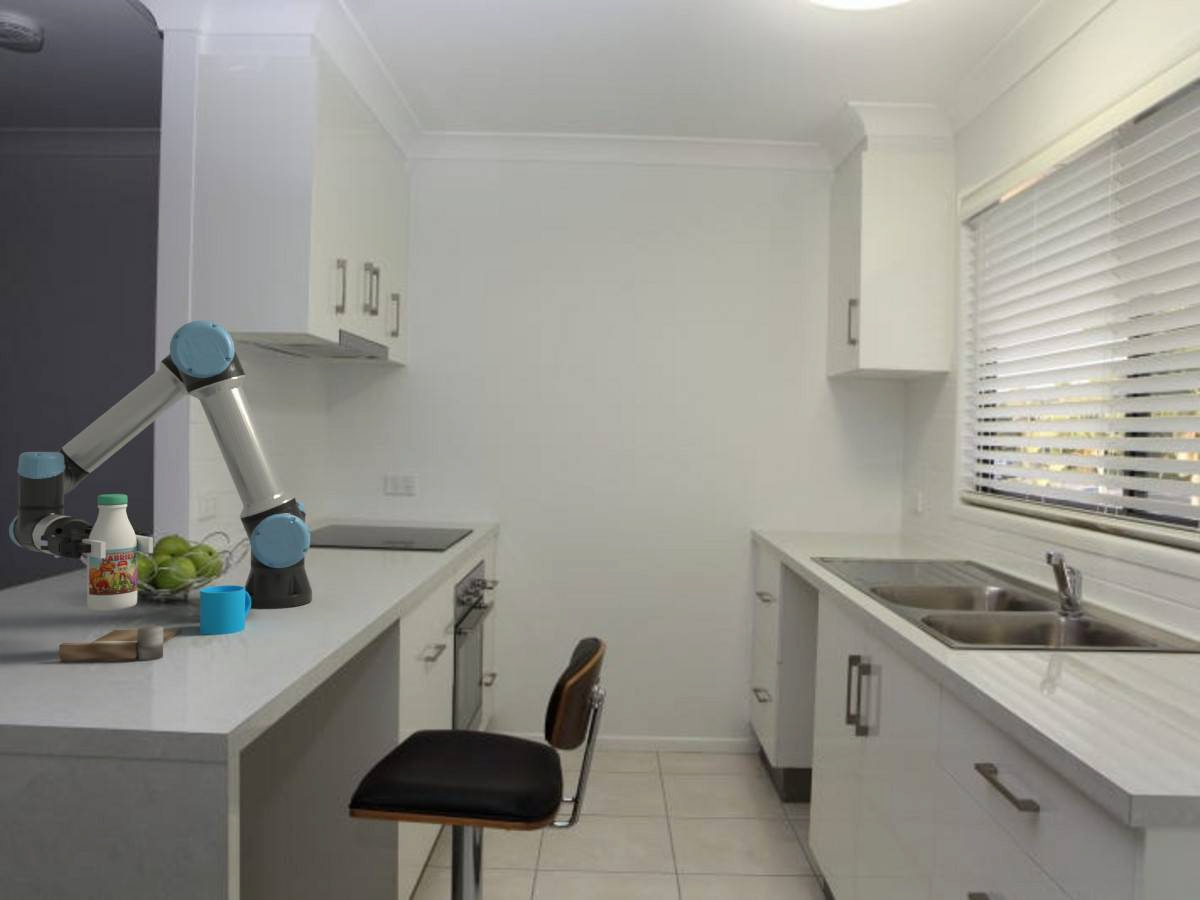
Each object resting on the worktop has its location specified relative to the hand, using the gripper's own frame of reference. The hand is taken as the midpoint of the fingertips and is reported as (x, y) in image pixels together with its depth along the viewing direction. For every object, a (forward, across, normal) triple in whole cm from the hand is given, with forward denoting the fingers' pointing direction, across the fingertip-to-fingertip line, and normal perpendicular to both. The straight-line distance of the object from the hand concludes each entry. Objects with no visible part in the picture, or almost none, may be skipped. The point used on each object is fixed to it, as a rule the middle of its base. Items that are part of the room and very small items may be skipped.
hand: (127, 547), depth 146 cm
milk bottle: (-5, 0, -11) cm, 12 cm away
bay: (-5, -4, -19) cm, 20 cm away
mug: (-5, -23, -19) cm, 30 cm away
